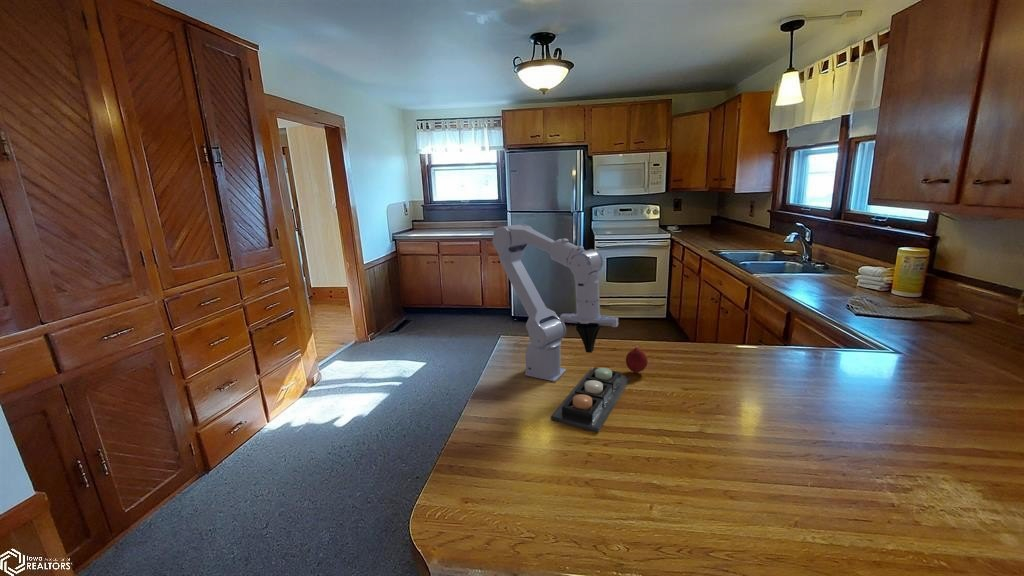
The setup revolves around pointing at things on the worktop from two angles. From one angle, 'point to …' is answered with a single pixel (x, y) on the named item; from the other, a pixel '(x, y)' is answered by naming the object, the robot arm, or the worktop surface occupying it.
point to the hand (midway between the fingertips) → (589, 351)
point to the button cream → (594, 387)
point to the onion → (636, 360)
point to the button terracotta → (582, 402)
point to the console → (600, 403)
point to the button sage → (603, 374)
